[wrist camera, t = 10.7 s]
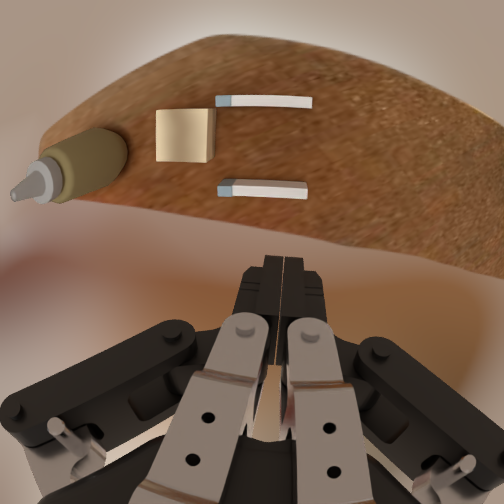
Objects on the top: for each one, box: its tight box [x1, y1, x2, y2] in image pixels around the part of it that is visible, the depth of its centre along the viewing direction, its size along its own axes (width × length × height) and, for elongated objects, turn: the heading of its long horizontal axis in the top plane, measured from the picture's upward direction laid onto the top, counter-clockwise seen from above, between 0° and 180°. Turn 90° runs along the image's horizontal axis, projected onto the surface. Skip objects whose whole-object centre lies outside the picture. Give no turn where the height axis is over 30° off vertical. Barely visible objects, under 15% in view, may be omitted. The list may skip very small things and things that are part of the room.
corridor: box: [216, 95, 312, 199], centre depth 30 cm, size 10×11×3 cm
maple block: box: [156, 109, 216, 163], centre depth 30 cm, size 6×6×4 cm
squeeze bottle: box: [10, 128, 128, 204], centre depth 26 cm, size 8×8×18 cm
